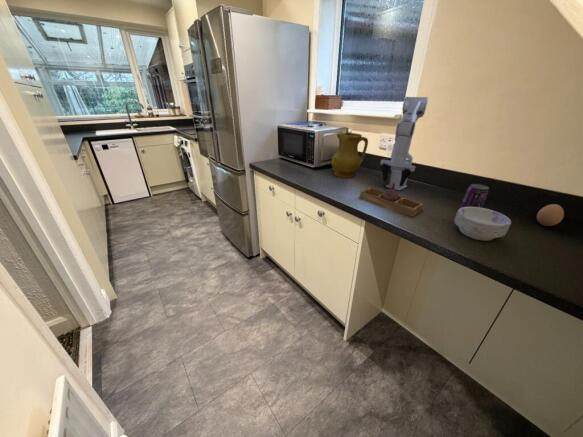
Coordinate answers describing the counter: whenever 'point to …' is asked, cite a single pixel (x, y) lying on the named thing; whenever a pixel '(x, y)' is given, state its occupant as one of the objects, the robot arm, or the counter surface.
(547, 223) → the egg
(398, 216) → the counter surface
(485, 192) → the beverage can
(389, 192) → the vegetable
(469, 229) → the paper bowls
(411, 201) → the tray
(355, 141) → the pitcher
